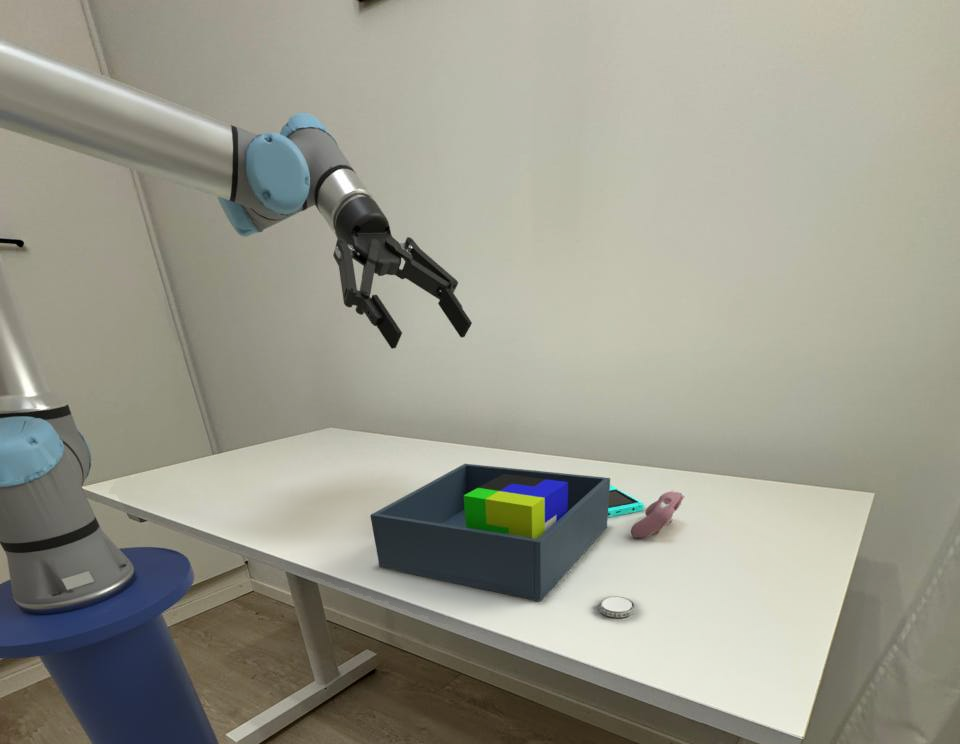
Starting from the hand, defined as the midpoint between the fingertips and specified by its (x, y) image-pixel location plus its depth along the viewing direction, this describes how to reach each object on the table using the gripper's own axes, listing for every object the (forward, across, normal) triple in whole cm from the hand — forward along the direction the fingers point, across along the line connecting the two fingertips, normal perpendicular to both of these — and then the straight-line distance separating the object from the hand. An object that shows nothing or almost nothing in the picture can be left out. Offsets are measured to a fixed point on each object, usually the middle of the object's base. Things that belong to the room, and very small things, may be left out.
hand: (433, 335), depth 81 cm
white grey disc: (+48, +10, +8) cm, 49 cm away
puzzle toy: (+35, +7, -3) cm, 36 cm away
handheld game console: (+31, -20, -8) cm, 38 cm away
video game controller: (+42, -15, +2) cm, 44 cm away
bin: (+30, +4, -9) cm, 32 cm away
